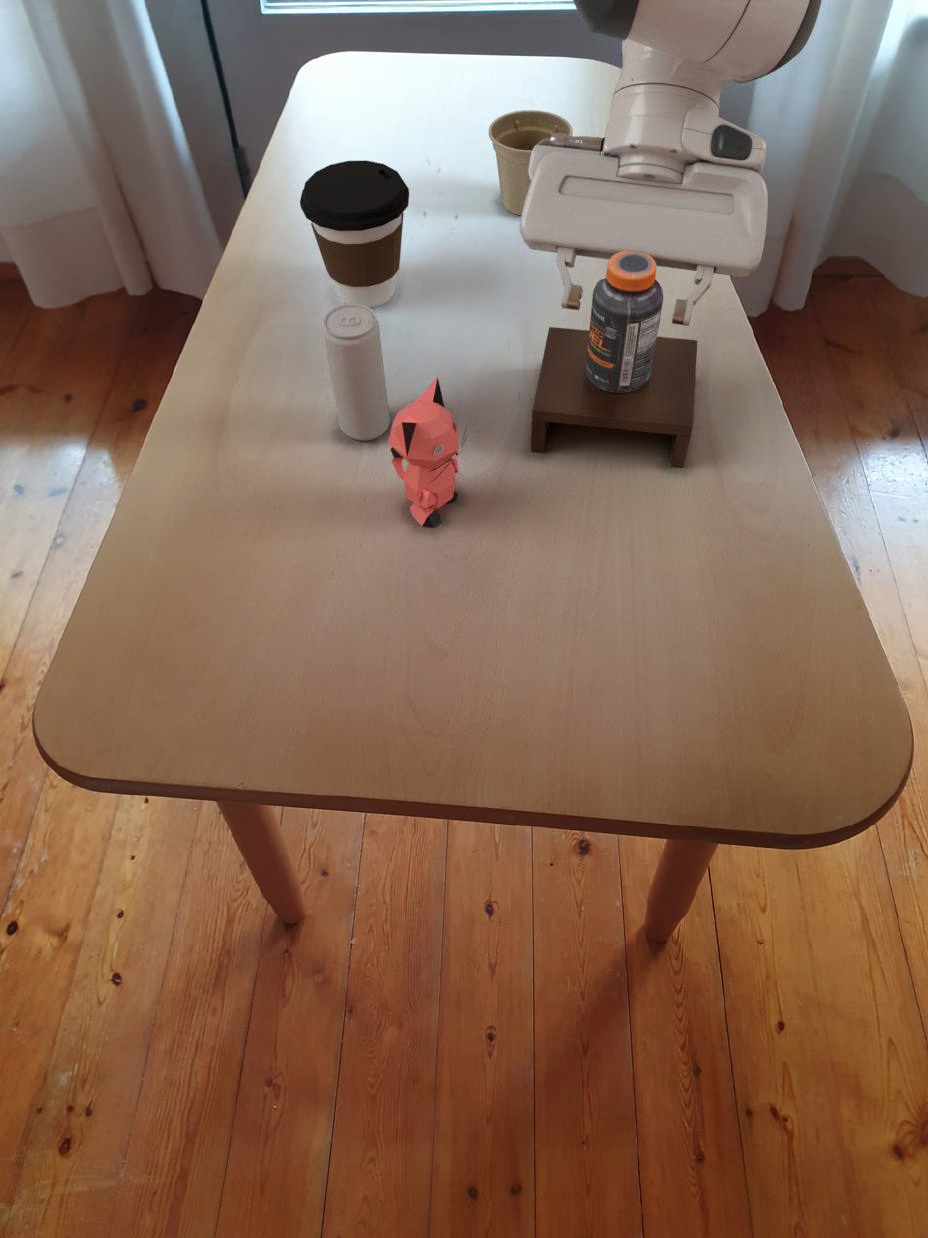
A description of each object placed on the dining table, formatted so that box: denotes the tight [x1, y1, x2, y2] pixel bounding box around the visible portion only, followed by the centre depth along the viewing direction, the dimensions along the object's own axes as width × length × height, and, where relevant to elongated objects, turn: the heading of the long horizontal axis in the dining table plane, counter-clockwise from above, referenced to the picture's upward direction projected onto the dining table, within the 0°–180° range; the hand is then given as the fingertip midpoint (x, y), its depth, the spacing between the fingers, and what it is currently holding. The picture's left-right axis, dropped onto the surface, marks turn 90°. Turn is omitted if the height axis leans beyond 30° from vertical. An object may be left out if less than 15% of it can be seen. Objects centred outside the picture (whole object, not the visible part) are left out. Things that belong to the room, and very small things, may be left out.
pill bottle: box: [585, 251, 664, 393], centre depth 81 cm, size 6×6×11 cm
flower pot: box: [488, 109, 574, 216], centre depth 109 cm, size 9×9×9 cm
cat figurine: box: [388, 376, 468, 529], centre depth 79 cm, size 7×7×12 cm
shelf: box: [530, 326, 698, 469], centre depth 88 cm, size 14×12×5 cm
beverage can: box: [322, 303, 391, 442], centre depth 85 cm, size 5×5×12 cm
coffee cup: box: [299, 160, 410, 309], centre depth 98 cm, size 11×11×12 cm
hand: (624, 315), depth 80 cm, fingers open, 8 cm apart
